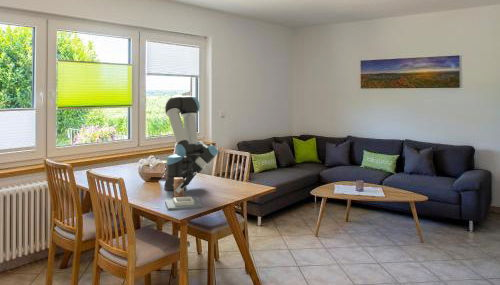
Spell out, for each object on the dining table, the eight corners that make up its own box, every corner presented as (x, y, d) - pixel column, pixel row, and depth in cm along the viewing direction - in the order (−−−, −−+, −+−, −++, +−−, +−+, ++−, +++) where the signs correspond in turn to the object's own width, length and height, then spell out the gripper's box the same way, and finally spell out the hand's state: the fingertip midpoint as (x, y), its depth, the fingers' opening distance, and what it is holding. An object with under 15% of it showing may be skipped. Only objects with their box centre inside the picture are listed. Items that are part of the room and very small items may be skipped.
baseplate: (168, 210, 228) (168, 204, 228) (164, 201, 245) (164, 196, 245) (203, 207, 234) (203, 202, 234) (197, 199, 251) (197, 194, 251)
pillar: (175, 197, 254) (174, 179, 253) (174, 195, 260) (173, 177, 258) (183, 197, 256) (183, 178, 255) (182, 195, 261) (182, 177, 260)
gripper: (206, 172, 249) (182, 197, 246) (199, 165, 272) (177, 188, 269) (198, 164, 246) (173, 189, 244) (191, 157, 270) (168, 181, 267)
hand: (175, 189), depth 256 cm, fingers open, 13 cm apart
